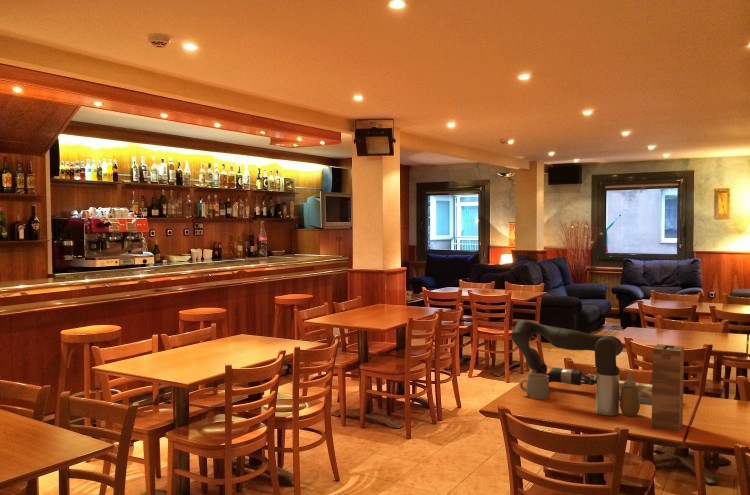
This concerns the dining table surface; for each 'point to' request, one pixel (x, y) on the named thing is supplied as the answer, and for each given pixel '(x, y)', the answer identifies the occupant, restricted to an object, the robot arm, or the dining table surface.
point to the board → (642, 400)
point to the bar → (640, 389)
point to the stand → (667, 387)
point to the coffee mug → (536, 386)
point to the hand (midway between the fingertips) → (606, 380)
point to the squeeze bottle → (629, 398)
